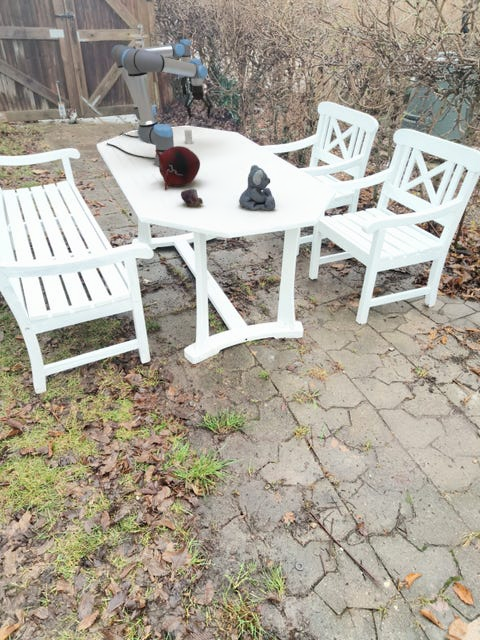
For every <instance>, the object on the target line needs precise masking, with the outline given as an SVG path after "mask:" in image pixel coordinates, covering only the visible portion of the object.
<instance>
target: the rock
mask: <svg viewBox="0 0 480 640" xmlns="http://www.w3.org/2000/svg"><path fill="white" fill-rule="evenodd" d="M180 197H181V200H182V201H183V202H184V203H185V205H187V206H189V207H191V206H192V207H193V206H201V205H203V204H204V202H203V199H202V197H199V195H198V190H197V189H196V188H188V189H185V190H181V192H180Z"/></svg>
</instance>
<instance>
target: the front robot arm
mask: <svg viewBox="0 0 480 640" xmlns="http://www.w3.org/2000/svg"><path fill="white" fill-rule="evenodd" d="M122 65H123V67H124V68H125V69H126V70H127V72H128V76H129V77H130V78H131V79H132V83H133V87H134V92H135V96H136V101H137V106H138V110H139V115H140V120H139V122H138V127H137V136H139V138H138V139H140V140H141V142H143V143H145V144H149V145H153V146H155V150H157V151H158V152H159V153H160V154H162V153H163V152H164V151H166V150H168V149H169V148H171V147H175V143H174V141H175V140H174V131H173V127H172V126H171V125H169V124H167V123H158V119H157V120H156V119H154V116H153V111H152V106H153V105H152V102H151V96H150V92H149V85H148V81H147V76H148V73H158V74H161V73H168V74H173V75H177V77H179V78H181V77H191V82H192V92H188V93H187V97H186V99H185V103H184V108H185V109H186V113H187V114H188V119H192V108H191V106H192V105H193V104H194V101H202V103H203V104H204V105H205V107H206V108H207V109H206V112H207V113H206V114H207V120H210V119H211V113H212V108H214V105H213V103H212V101H211V98H210V97H209V93H208V92H204V86H203V84H204V83H203V80H204V79H206V77H207V76H208V68H207V67H206V66H205V65H204V64H202V59H200V58H191V59H190V63H188V62H183V61H181V60H177V59H174V58H170V57H163V56H162V55H160V54H156V53H153V52H150V51H147V50H141V49H128V50H126V51H125V52H124V53H123V55H122ZM191 97H192V98H191ZM190 98H191V100H190ZM189 101H190V102H189ZM106 145H108V146H112V147H114V148H116V149H118V150H120V151H121V152H123V153H125V154H127V155H130V156H133V157H137V158H143V159H148V160H153V161H154V165H155V166H157V167H159V156H158V155H157V153H156V152H155V155H154V157H151V156H145V155H139V154H134V153H131V152H128V151H126V150H124V149H122V148H121V147H119V146H117V145H114V144H112V143H108V142H107V143H106Z"/></svg>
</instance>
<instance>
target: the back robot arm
mask: <svg viewBox="0 0 480 640" xmlns="http://www.w3.org/2000/svg"><path fill="white" fill-rule="evenodd" d="M191 47H192V46H191V41H190V40H189V38H187V39H186V38H185V39H180V40H179V42H166V43H165V44H163V45H153V46H151V45H150V46H142V47H136V46H133V45H132V46H128V45H125V44H120V43H119V44H116V45H114V47H112V50H111V57H112V59H113V61H114V62H115V64H116V67H117V69H118V70H119V71H120V72H121V73H122V76H123V79H124V82H125V84H126V86H127V90H128V92H129V94H130V96H131V99H132V102H133V106H132V107H133V110H134V114H135V117H136V118H137V120H139V121H140V115H139V110H138V106H137V101H136V96H135V92H134V87H133V83H132V79H131V78H130V77H129V76H128V72H127V70H126V69H125V68H124V67H123V65H122V55H123V53H124V52H125V51H126V50H128V49H141V50H147V51H150V52H153V53H156V54H160V55H162V56H163V57H165V58H172V57H180V61H183V62H188V63H190V59H192V49H191ZM187 79H188V80H189V89H190V90H189V91H190V93H192V82H191V77H180V86H181V88H182V96H187V85H186V83H187ZM151 106H152V111H153V116H154V119H156V120H157V121H158V119H157V117H158V116H157V110H156V107H155V106H153V105H151ZM118 136H119V137H120V136H128V137H130V138H138V139H140V138H139V136H138V135H137V136H136V135H131V134H127V135H126V133H119V135H118Z"/></svg>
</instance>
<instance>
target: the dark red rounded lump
mask: <svg viewBox="0 0 480 640" xmlns="http://www.w3.org/2000/svg"><path fill="white" fill-rule="evenodd" d="M156 153H157V155H158V156H159V166H158V170H159V173H160V175H161V177H162V179H163V181H164V190H166V191H167V189H168V186H173V187H176V186H177V187H182V186H186V185H190V183H192V182H193V181H194V180H195V179H196V177H197V176H198V173H199V171H200V168H201V161H200V159H199V157H198V156H197V154H196V153H194V152H193V151H192V150H191V149H190V148H188V147H186V146H182V145H176V146H175V145H174V147H171V148H169V149H168V150H166V151H164V152H163V153H162V154H160V153H159V152H158V151H157V150H156V149H155V154H156Z"/></svg>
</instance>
